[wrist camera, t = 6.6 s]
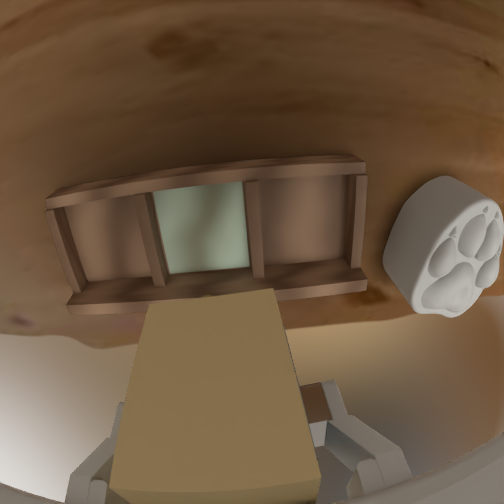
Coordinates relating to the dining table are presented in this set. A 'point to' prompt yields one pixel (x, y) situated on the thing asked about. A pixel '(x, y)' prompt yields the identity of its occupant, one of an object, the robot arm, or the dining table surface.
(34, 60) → the dining table surface
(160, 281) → the brown divided tray
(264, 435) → the frame block
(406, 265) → the lumpy-topped squat cylinder
